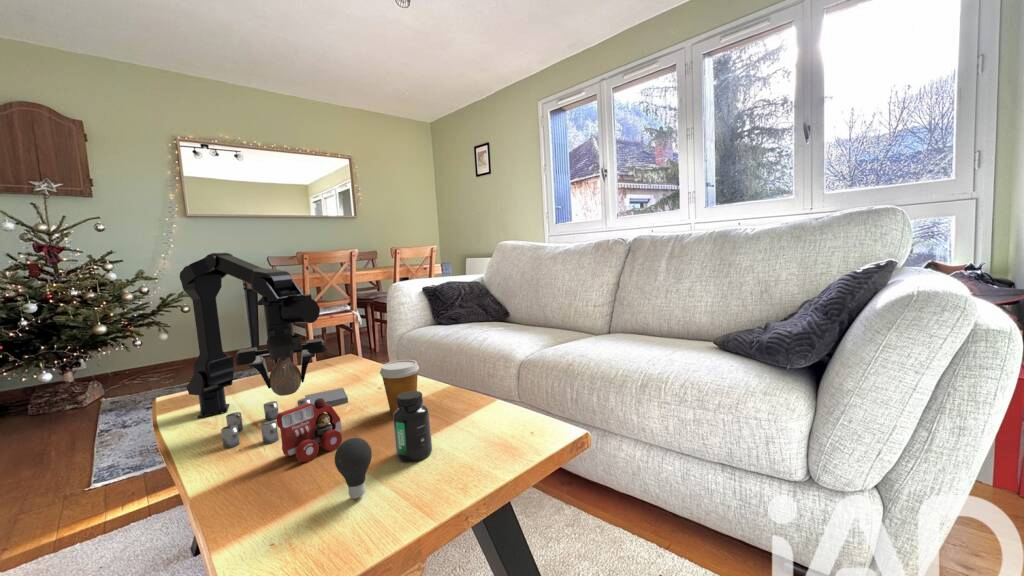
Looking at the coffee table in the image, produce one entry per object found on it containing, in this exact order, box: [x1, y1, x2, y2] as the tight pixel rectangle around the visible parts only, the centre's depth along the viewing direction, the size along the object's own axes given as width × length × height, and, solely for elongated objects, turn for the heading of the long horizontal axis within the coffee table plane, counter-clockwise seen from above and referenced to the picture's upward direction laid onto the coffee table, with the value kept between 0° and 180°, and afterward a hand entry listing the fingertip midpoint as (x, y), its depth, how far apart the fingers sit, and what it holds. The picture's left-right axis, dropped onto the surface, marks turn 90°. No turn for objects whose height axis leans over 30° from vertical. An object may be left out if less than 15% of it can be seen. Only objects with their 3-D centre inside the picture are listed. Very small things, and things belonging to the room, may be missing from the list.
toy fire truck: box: [275, 398, 343, 463], centre depth 84 cm, size 7×12×10 cm, turn 145°
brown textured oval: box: [269, 357, 302, 397], centre depth 102 cm, size 7×7×9 cm
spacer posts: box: [220, 397, 311, 450], centre depth 97 cm, size 18×18×4 cm
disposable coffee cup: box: [379, 359, 420, 416], centre depth 103 cm, size 10×10×12 cm
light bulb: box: [334, 437, 373, 501], centre depth 67 cm, size 6×6×10 cm
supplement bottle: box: [392, 390, 433, 463], centre depth 80 cm, size 7×7×12 cm
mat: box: [304, 387, 349, 407], centre depth 114 cm, size 10×10×2 cm
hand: (286, 385), depth 102 cm, fingers closed on brown textured oval, 7 cm apart
